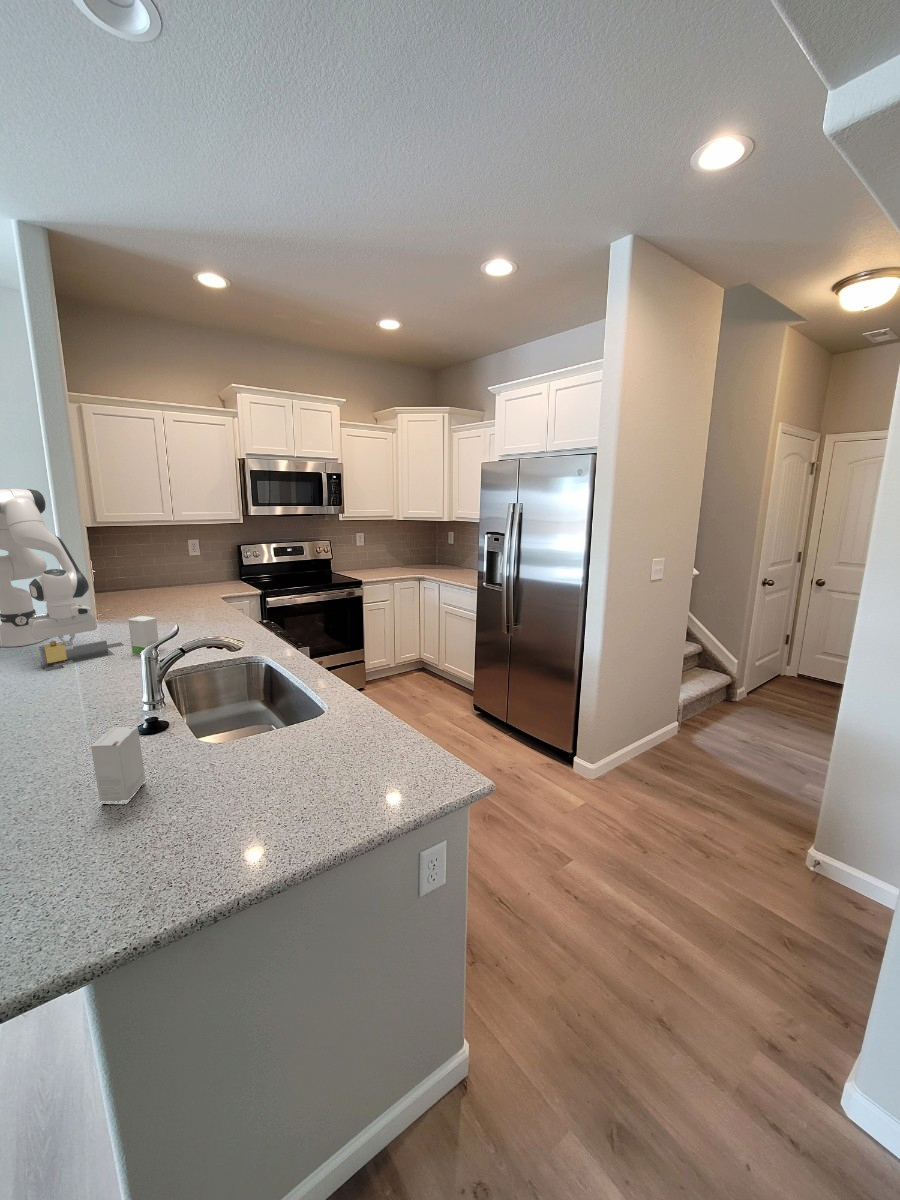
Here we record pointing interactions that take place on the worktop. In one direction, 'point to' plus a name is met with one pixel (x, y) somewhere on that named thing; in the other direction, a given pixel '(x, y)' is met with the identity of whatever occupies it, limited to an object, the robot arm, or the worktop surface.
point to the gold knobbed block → (55, 652)
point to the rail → (77, 654)
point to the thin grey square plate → (115, 645)
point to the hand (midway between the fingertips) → (68, 645)
